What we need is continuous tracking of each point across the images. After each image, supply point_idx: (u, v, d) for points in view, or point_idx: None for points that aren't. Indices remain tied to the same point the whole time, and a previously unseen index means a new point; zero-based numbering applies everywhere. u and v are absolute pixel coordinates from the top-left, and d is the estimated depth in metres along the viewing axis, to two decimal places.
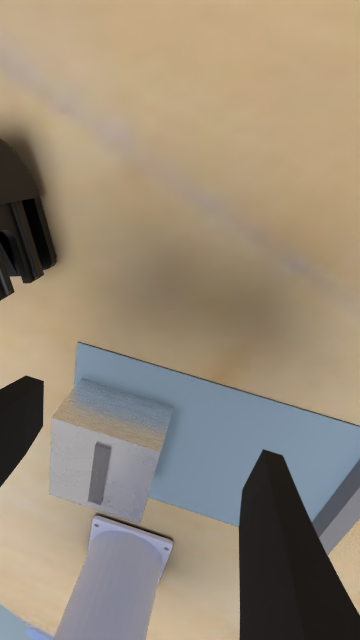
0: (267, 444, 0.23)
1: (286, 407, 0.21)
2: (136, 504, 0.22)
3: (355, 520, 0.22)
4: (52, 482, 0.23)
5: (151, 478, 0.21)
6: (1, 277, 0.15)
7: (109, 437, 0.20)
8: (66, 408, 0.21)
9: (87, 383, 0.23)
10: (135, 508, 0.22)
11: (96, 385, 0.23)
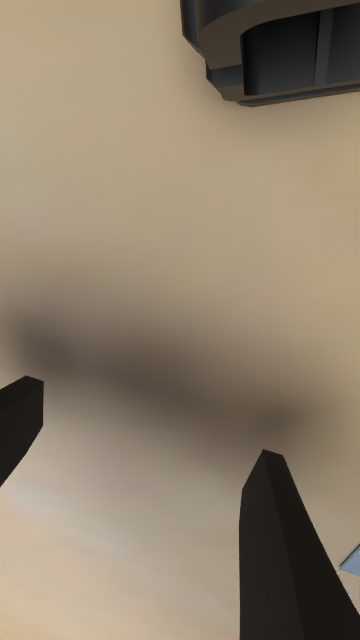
0: None
1: None
2: None
3: None
4: None
5: None
6: None
7: None
8: None
9: None
10: None
11: None
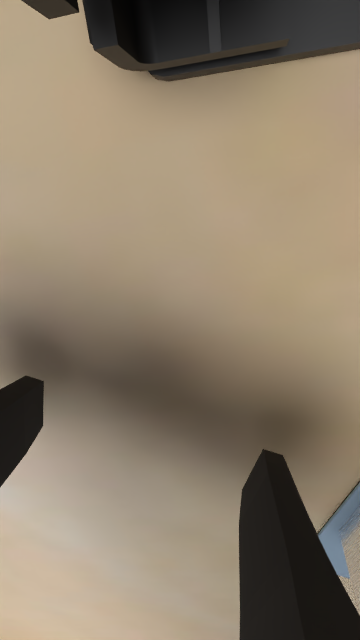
0: None
1: None
2: None
3: None
4: None
5: None
6: None
7: None
8: None
9: None
10: None
11: None
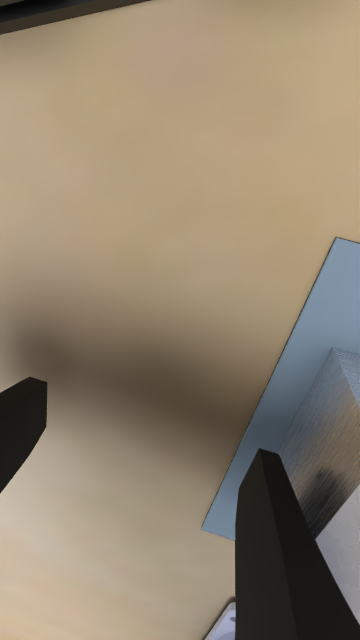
0: None
1: None
2: None
3: None
4: None
5: None
6: None
7: None
8: None
9: (354, 358, 0.09)
10: None
11: None
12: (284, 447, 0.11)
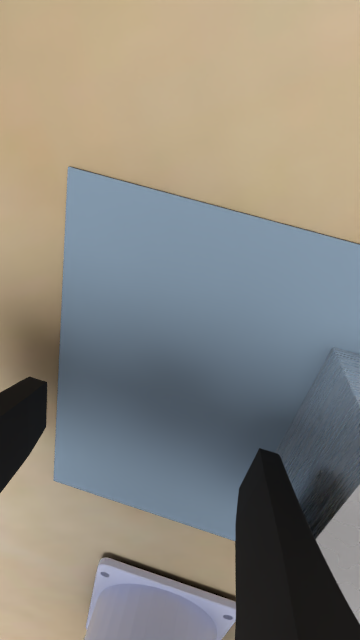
0: None
1: None
2: None
3: None
4: None
5: None
6: None
7: None
8: None
9: (355, 357, 0.09)
10: None
11: None
12: (284, 447, 0.11)
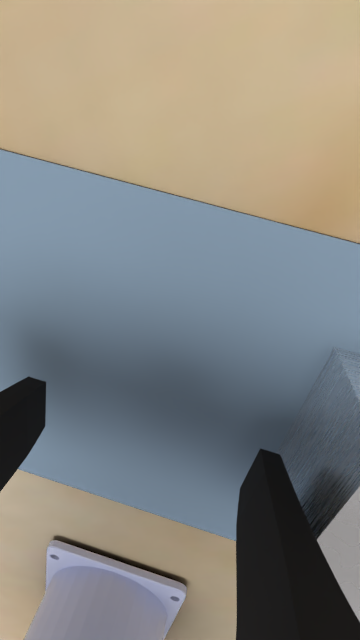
0: None
1: None
2: None
3: None
4: None
5: None
6: None
7: None
8: None
9: (356, 357, 0.09)
10: None
11: None
12: (286, 446, 0.11)
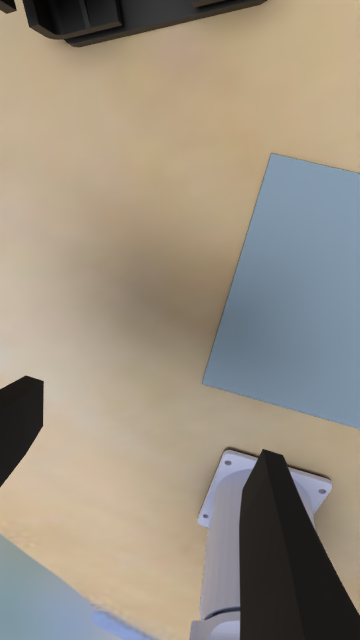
0: None
1: None
2: None
3: None
4: None
5: None
6: None
7: None
8: None
9: None
10: None
11: None
12: None
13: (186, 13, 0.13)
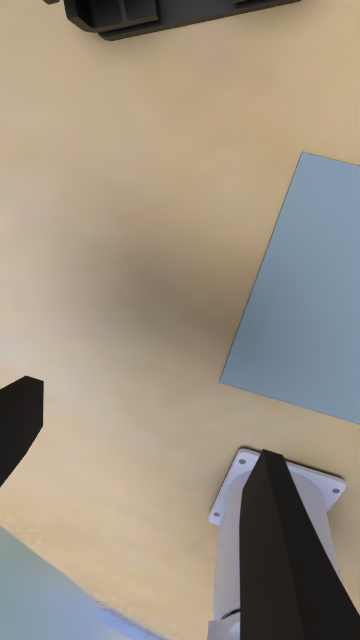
0: None
1: None
2: None
3: None
4: None
5: None
6: None
7: None
8: None
9: None
10: None
11: None
12: None
13: (224, 8, 0.13)
